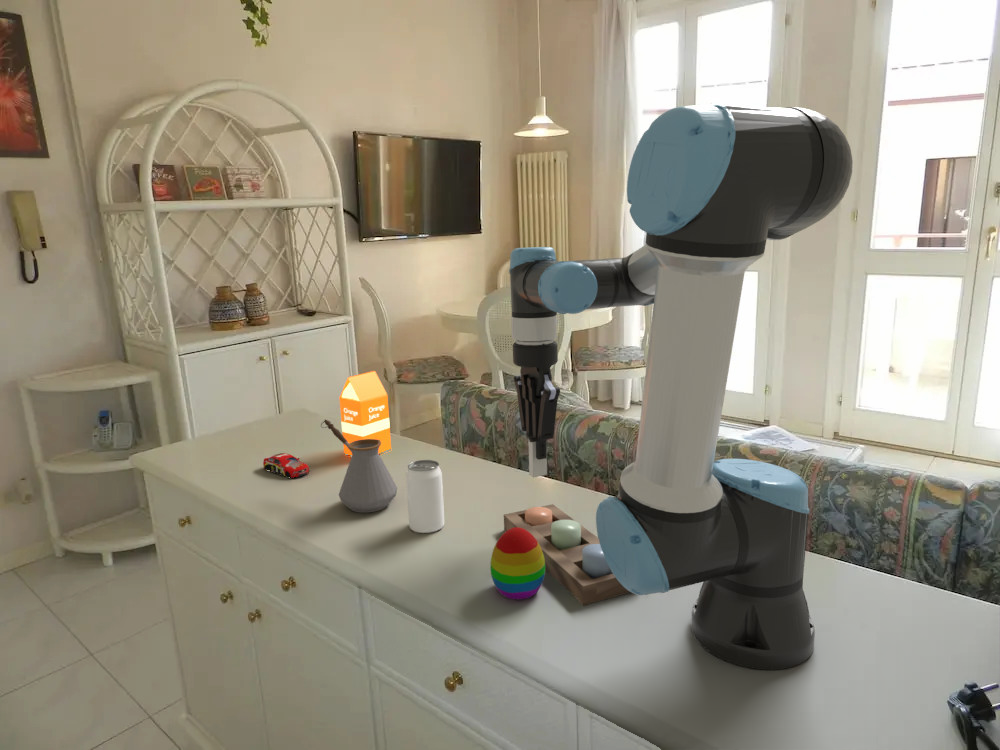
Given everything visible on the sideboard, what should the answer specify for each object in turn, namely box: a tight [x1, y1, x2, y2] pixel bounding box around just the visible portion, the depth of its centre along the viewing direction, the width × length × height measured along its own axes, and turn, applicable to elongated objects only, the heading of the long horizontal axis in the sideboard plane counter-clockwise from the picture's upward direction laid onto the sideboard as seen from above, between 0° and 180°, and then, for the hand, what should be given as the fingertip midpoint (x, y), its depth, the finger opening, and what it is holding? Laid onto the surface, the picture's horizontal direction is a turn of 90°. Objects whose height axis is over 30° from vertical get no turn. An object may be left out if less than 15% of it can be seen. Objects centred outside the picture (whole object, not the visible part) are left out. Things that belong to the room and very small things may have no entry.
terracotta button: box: [525, 506, 552, 527], centre depth 121 cm, size 5×5×4 cm
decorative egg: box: [490, 527, 546, 600], centre depth 102 cm, size 8×8×10 cm
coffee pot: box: [320, 419, 398, 513], centre depth 139 cm, size 21×12×15 cm, turn 43°
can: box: [405, 459, 445, 534], centre depth 125 cm, size 6×6×12 cm
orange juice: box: [339, 370, 392, 455], centre depth 167 cm, size 8×9×20 cm
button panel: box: [503, 503, 631, 606], centre depth 112 cm, size 28×10×3 cm, turn 24°
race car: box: [262, 452, 310, 479], centre depth 157 cm, size 13×5×4 cm, turn 50°
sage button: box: [551, 519, 582, 551], centre depth 112 cm, size 5×5×4 cm
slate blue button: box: [582, 544, 613, 579], centre depth 103 cm, size 5×5×4 cm
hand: (538, 474), depth 119 cm, fingers closed
